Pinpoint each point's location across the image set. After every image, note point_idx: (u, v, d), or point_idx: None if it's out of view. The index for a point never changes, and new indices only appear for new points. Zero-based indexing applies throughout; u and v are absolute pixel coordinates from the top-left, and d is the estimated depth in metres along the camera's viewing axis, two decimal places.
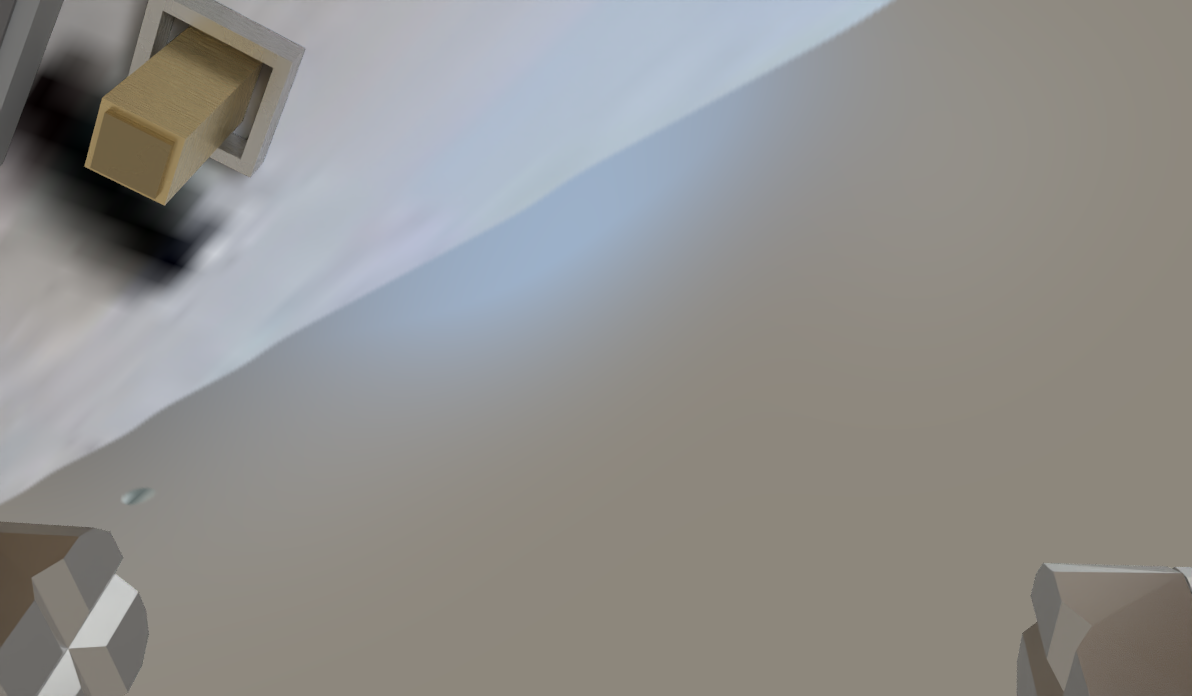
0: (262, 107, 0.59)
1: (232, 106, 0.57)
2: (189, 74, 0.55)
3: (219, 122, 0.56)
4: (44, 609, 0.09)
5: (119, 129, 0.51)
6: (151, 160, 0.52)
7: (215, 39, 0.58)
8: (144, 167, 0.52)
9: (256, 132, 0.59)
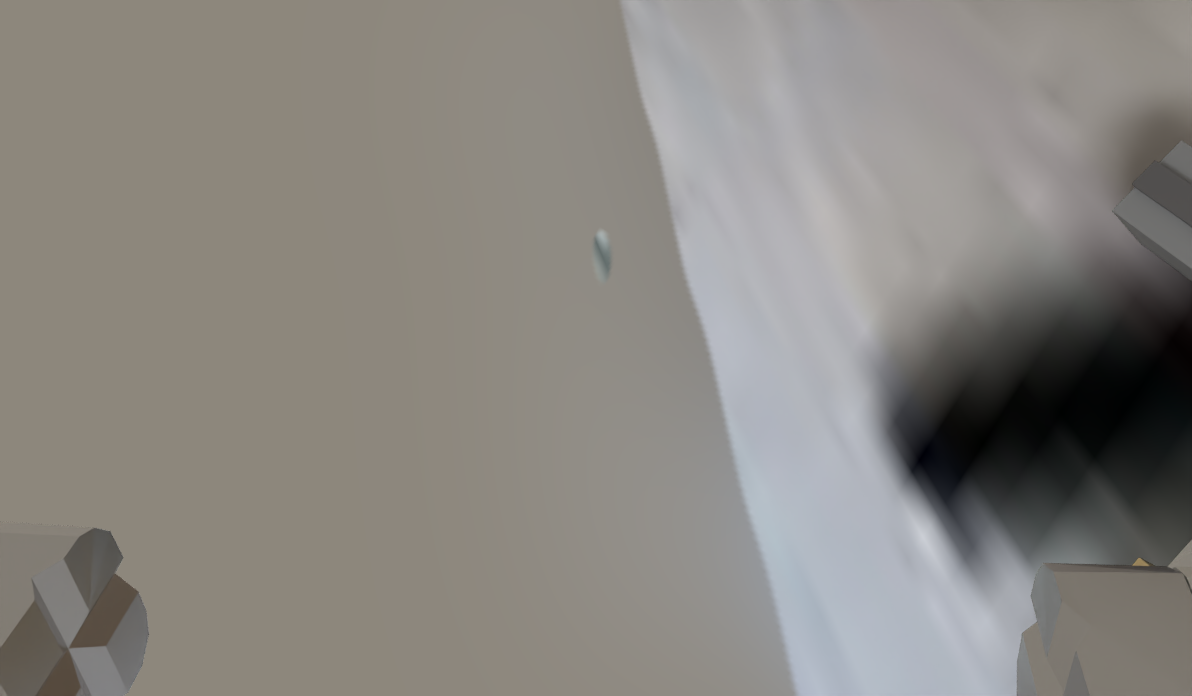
0: None
1: None
2: None
3: None
4: (44, 609, 0.09)
5: None
6: None
7: None
8: None
9: None
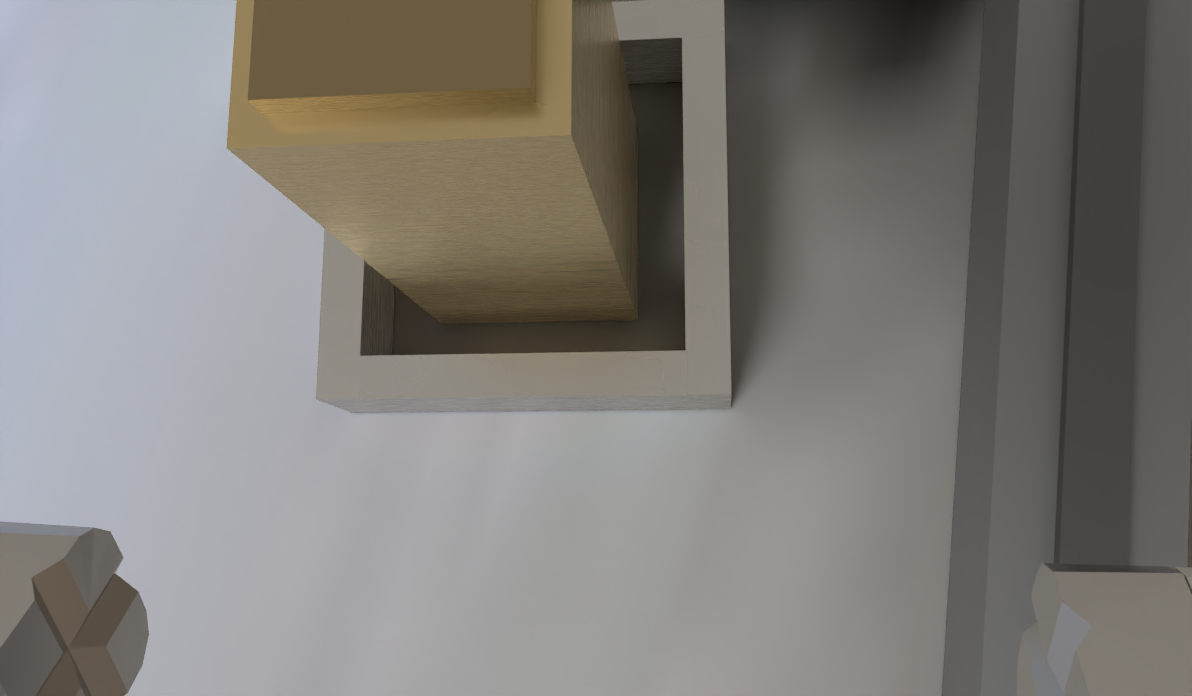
0: None
1: None
2: (499, 261, 0.18)
3: None
4: (44, 609, 0.09)
5: (459, 48, 0.12)
6: None
7: (564, 317, 0.22)
8: None
9: None
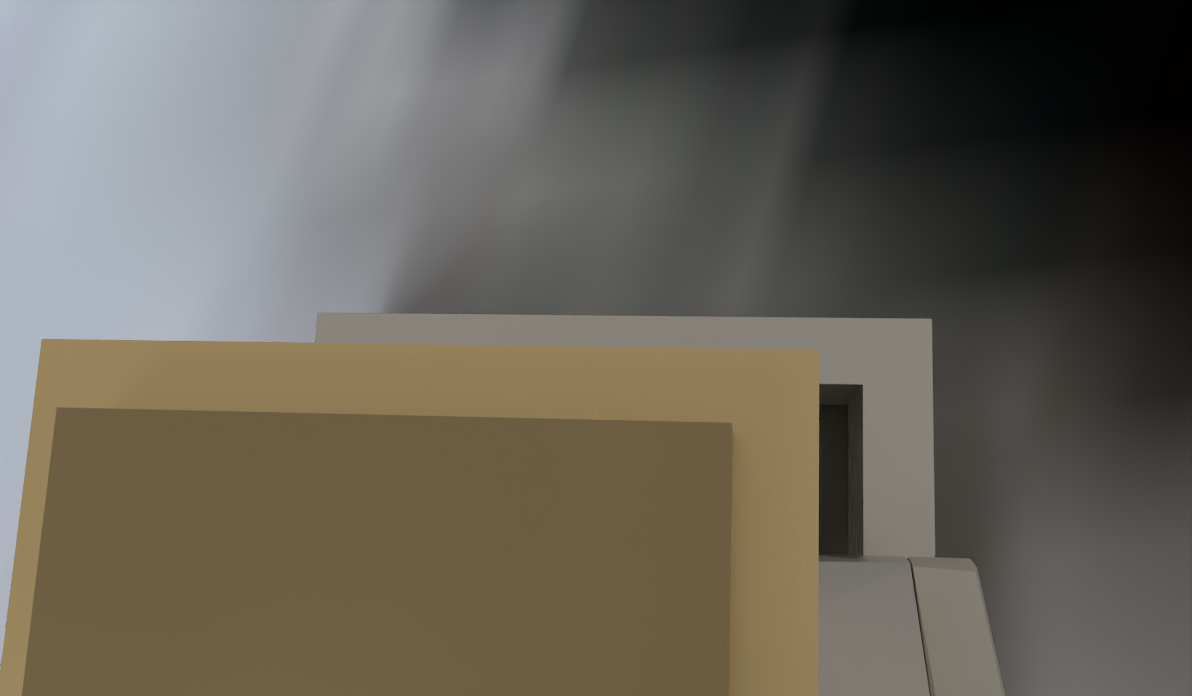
0: None
1: None
2: None
3: None
4: None
5: None
6: None
7: None
8: None
9: None
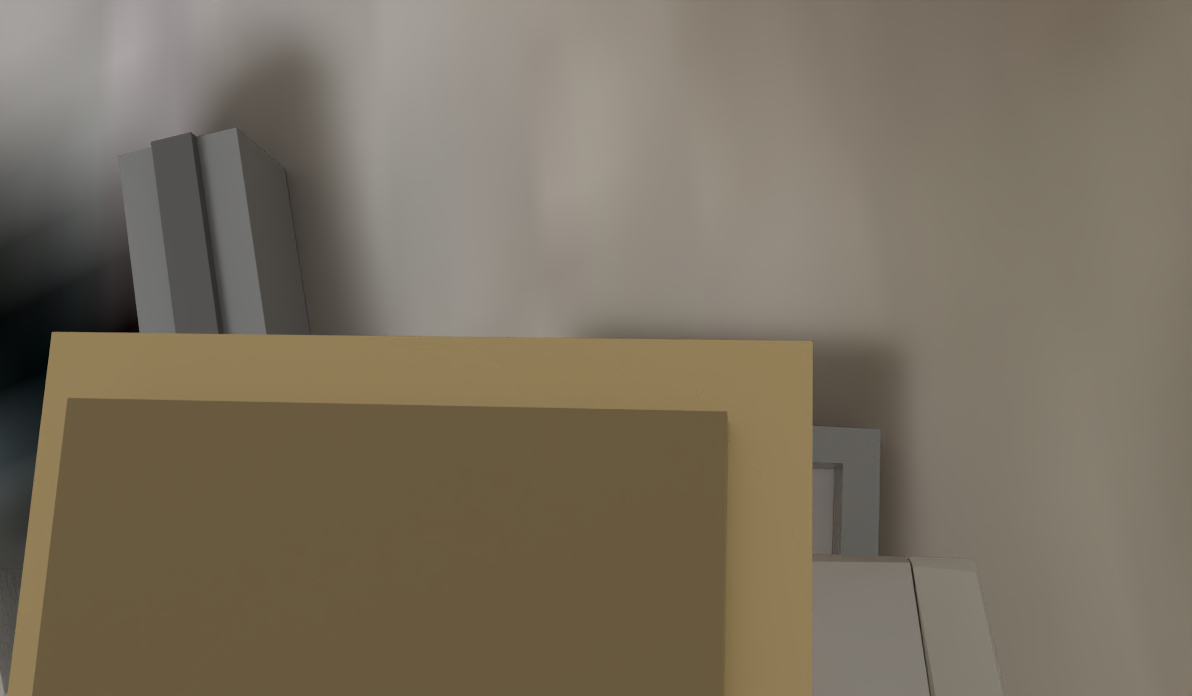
0: None
1: None
2: None
3: None
4: None
5: None
6: None
7: None
8: None
9: None
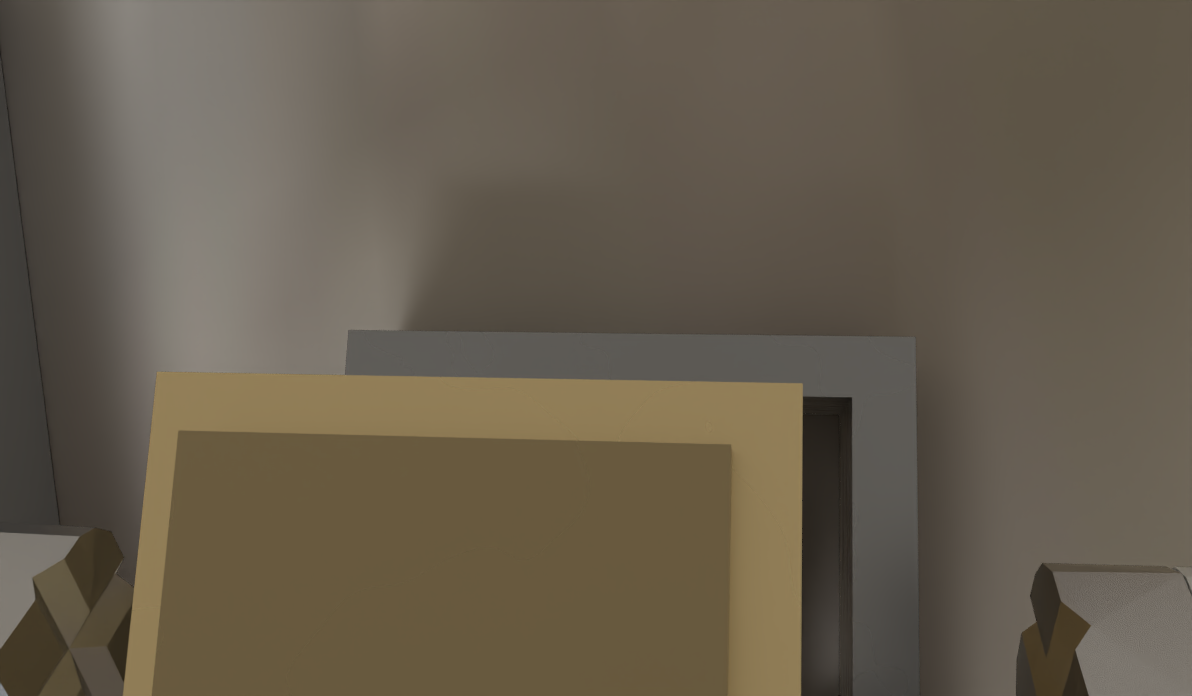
0: None
1: None
2: None
3: None
4: (45, 609, 0.09)
5: None
6: None
7: None
8: (299, 689, 0.06)
9: None
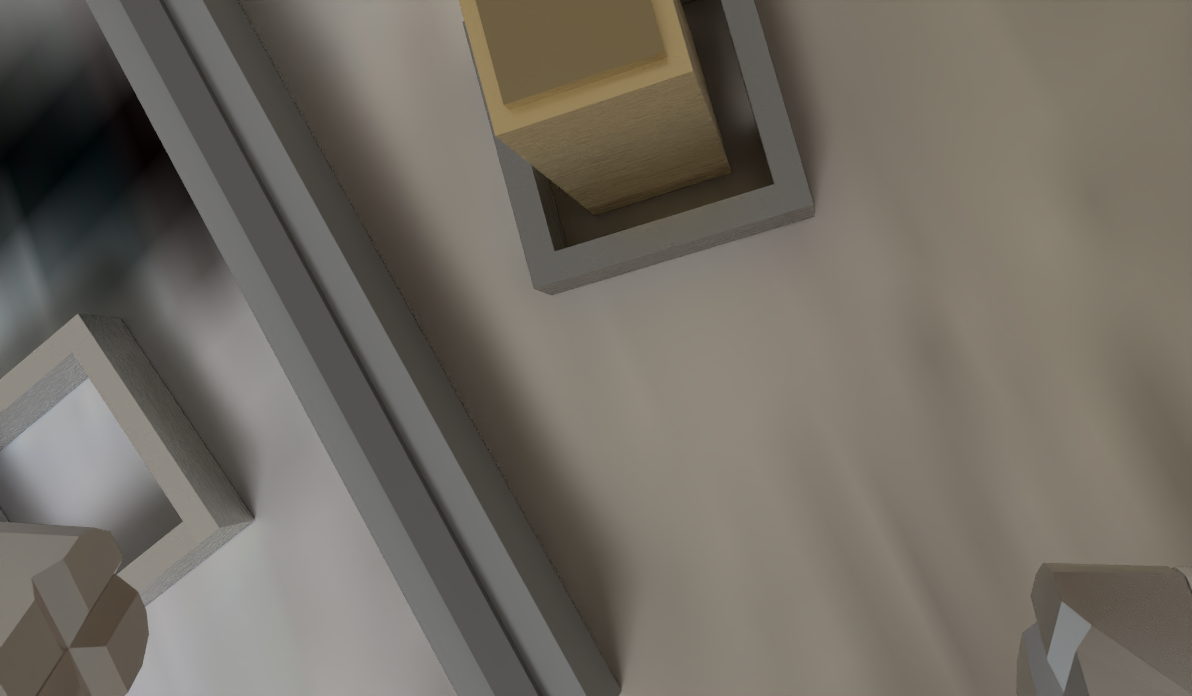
0: None
1: None
2: (641, 158, 0.26)
3: None
4: (44, 609, 0.09)
5: (616, 39, 0.21)
6: (518, 32, 0.21)
7: (680, 185, 0.31)
8: (521, 2, 0.21)
9: None
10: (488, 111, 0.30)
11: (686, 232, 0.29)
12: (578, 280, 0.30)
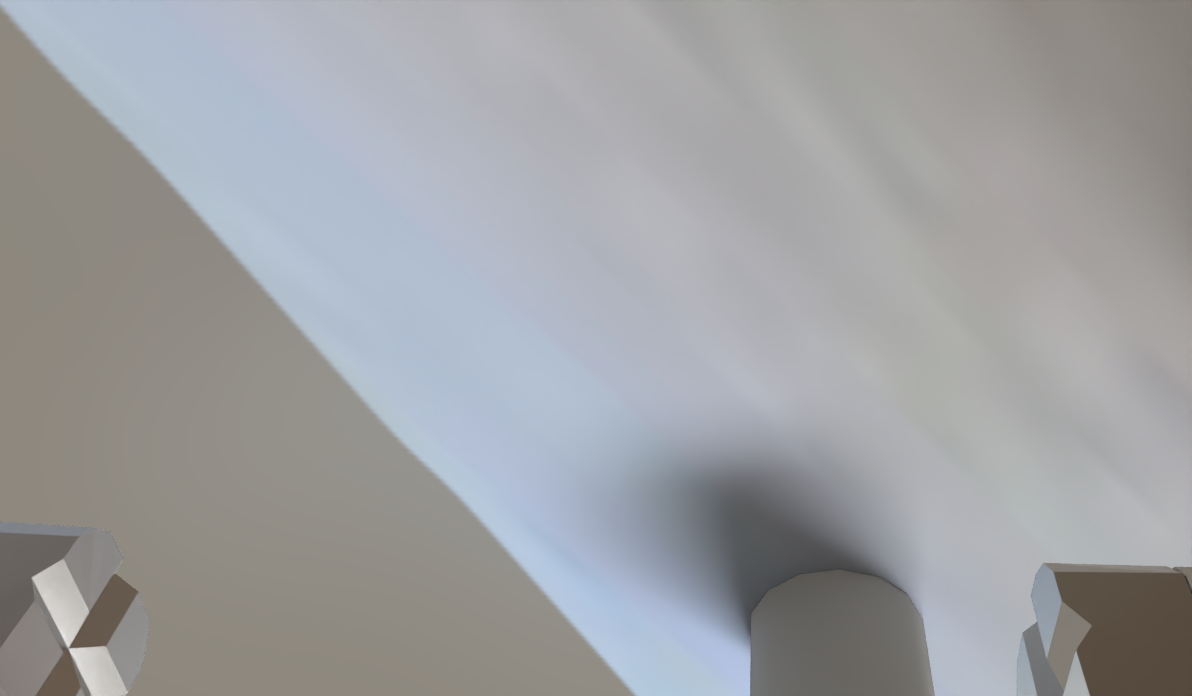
0: None
1: None
2: None
3: None
4: (44, 609, 0.09)
5: None
6: None
7: None
8: None
9: None
10: None
11: None
12: None
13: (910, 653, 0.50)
